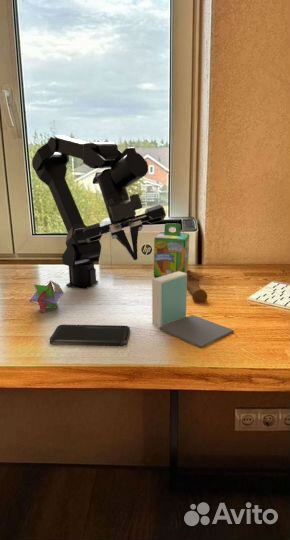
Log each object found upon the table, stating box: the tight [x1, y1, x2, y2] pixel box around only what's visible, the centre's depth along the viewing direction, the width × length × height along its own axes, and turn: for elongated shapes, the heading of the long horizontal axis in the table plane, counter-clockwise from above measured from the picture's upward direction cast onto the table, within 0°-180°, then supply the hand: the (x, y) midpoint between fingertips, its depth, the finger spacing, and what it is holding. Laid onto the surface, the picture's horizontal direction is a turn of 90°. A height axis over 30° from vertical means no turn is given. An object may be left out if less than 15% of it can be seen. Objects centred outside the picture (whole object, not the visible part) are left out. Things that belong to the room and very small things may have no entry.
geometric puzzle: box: [29, 280, 64, 314], centre depth 94 cm, size 7×7×8 cm
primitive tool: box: [187, 276, 208, 303], centre depth 107 cm, size 19×6×4 cm, turn 6°
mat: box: [159, 314, 235, 349], centre depth 83 cm, size 11×10×1 cm
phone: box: [49, 323, 131, 348], centre depth 81 cm, size 8×1×15 cm
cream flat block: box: [151, 271, 188, 328], centre depth 87 cm, size 3×8×10 cm, turn 133°
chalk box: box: [153, 222, 190, 277], centre depth 119 cm, size 9×9×15 cm
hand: (135, 259), depth 93 cm, fingers closed
